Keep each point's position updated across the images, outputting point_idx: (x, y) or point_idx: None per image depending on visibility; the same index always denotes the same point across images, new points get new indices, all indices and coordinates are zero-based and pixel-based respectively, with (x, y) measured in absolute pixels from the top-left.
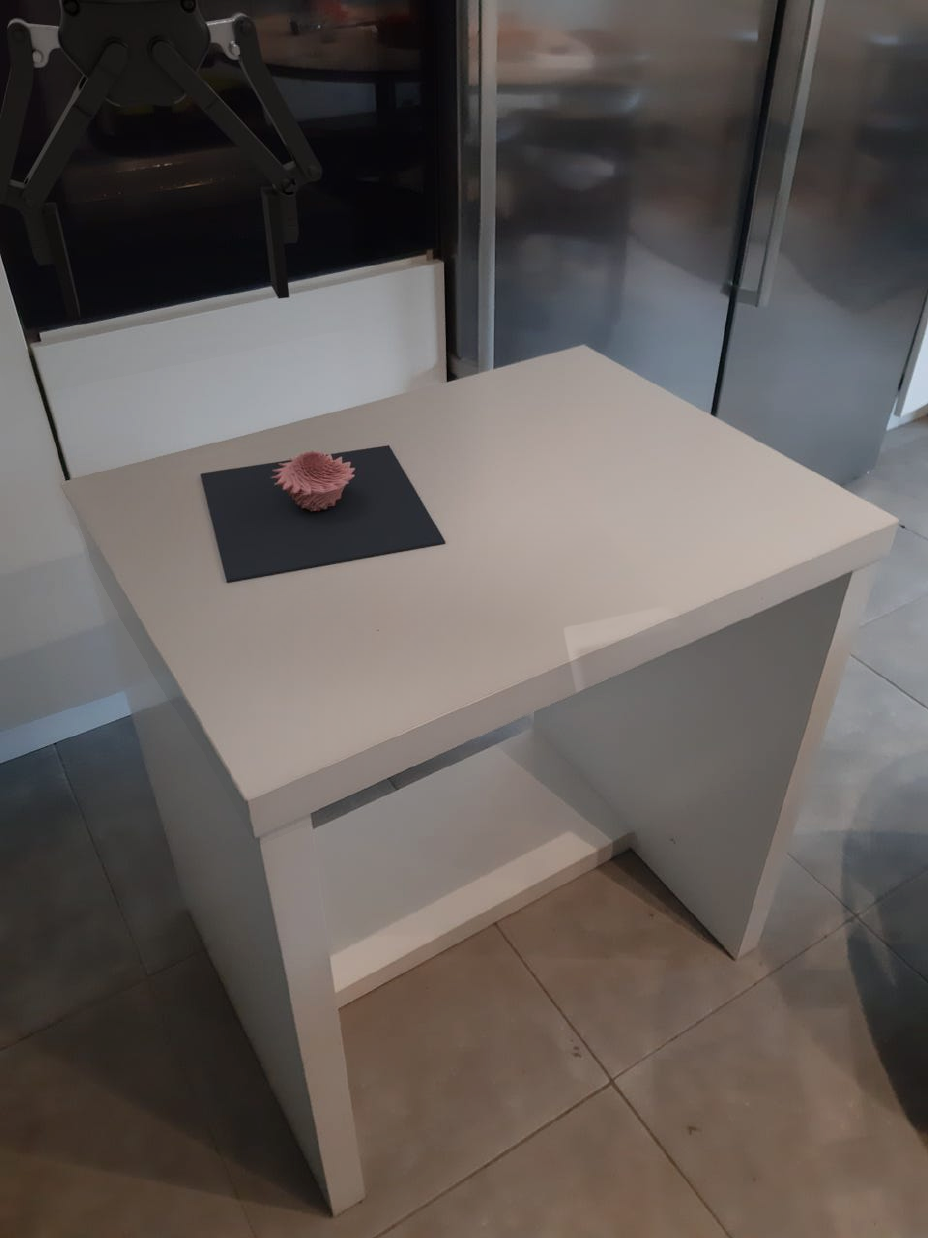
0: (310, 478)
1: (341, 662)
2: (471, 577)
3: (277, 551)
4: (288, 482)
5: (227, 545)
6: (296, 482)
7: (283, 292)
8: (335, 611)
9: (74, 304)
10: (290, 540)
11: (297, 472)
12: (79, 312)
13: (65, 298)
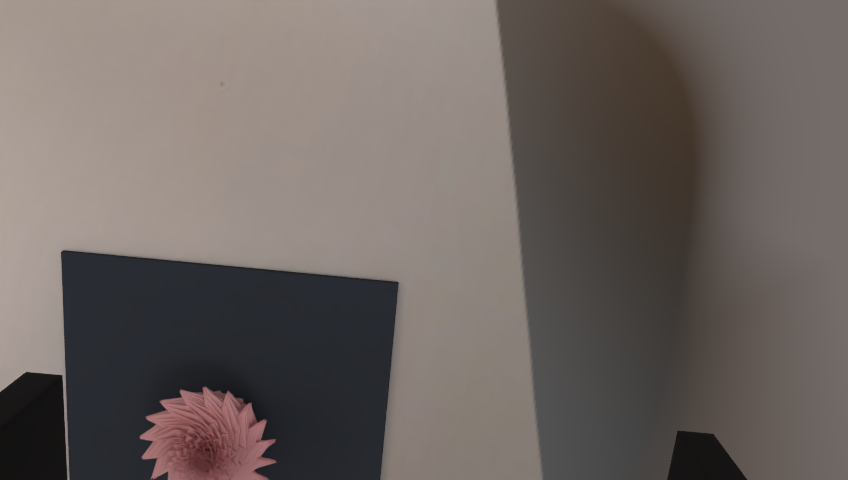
0: (216, 422)
1: (291, 33)
2: (50, 151)
3: (311, 324)
4: (253, 434)
5: (377, 366)
6: (241, 427)
7: (34, 380)
8: (268, 153)
9: (701, 457)
10: (286, 343)
11: (232, 445)
12: (673, 467)
13: (734, 471)
